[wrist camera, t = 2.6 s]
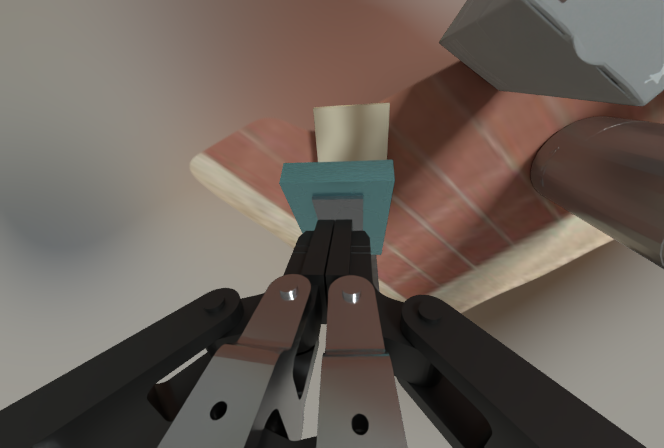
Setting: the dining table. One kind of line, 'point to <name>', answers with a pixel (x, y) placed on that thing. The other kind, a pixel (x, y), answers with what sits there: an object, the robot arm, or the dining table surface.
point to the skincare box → (564, 47)
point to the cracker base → (353, 138)
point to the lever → (341, 194)
